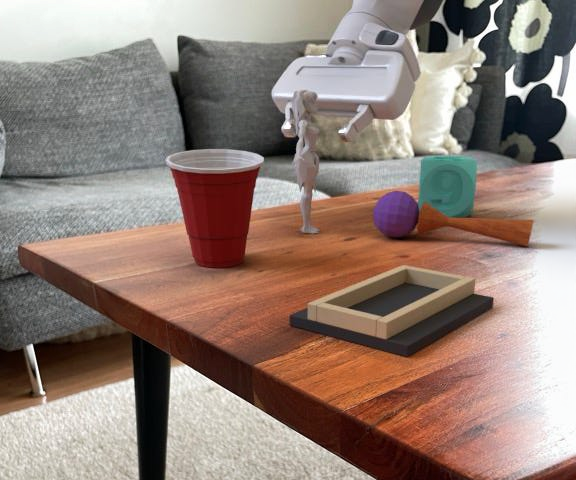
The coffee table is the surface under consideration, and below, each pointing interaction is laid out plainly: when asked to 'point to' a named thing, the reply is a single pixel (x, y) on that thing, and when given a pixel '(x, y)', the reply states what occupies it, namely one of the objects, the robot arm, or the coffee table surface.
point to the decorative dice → (448, 184)
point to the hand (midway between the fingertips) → (315, 136)
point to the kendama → (441, 220)
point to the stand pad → (396, 309)
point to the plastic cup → (216, 201)
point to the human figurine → (306, 151)
